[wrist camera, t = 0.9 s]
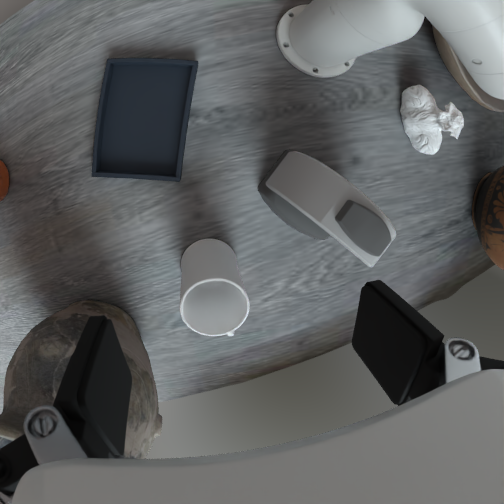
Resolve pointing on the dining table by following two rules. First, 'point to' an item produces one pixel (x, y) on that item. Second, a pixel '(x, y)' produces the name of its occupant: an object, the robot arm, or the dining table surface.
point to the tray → (143, 118)
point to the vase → (490, 215)
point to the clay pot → (55, 363)
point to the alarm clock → (326, 206)
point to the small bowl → (3, 180)
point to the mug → (212, 289)
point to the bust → (427, 119)
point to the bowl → (465, 75)
